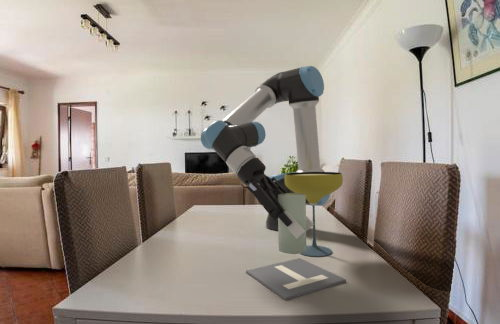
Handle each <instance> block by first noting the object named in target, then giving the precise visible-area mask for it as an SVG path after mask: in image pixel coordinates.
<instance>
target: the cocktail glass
mask: <svg viewBox="0 0 500 324" xmlns="http://www.w3.org/2000/svg"><path fill="white" fill-rule="evenodd" d="M295 172H296V171H295ZM343 180H344V179H343V173H341V172H334V171H324V172H296V173H292V172H287V174H285V185H286V186H287V187H288V188H289V189H290V190H291V191H293V192H295V193H302V194H306V199H307V201H308V202H309V203H310V204H311V205H313V206H312V223H313V224H314V225H313V226H312V242H311V243H312V244H311V245H306V249H307V250H306V252H304V253H300V255H303V256H305V257H312V258H313V257H314V258H321V257H327V256H330V255H331V254H332V253H333V251H332V249H331V248H329V247H326V246H321V245H318V244H317V239H316V218H315V217H316V214H315V213H316V210H315V205H316V204H317V203H318V202H319V201H320V199H321V198H323V197H325V196H326V195H328V194H330V193H331V194H332V193H335V192H336V191H337V190H339V189H340V188H341V186H342V185H343ZM331 194H330V195H331ZM311 205H310V206H311Z"/></svg>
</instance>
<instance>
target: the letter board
mask: <svg viewBox="0 0 500 324" xmlns="http://www.w3.org/2000/svg"><path fill="white" fill-rule="evenodd" d="M245 274H247V275H248V276H250V277H251V278H252V279H254V280H255V281H257V282H258V283H260V284H261V285H263V286H264V287H265V288H267V289H268V290H270V291H271V292H273V293H274V294H276V295H277V296H278V297H280V298H282V300H284V301H286V300H290V299H294V298H297V297H300V296H303V295H306V294H307V295H308V294H311V293H313V292H317V291H320V290H323V289H326V288H329V287H333V286H337V285H339V284H343V283H347V279H346V278H344V277H343V276H340V275H337V274H336V273H334V272H331V271H329V270H327V269H324V268H322V267H320V266H318V265H315V264H313V263H311V262H310V261H307V260H305V259H303V258H300V257H299V258H296V259H290V260H286V261H282V262H278V263H274V264H273V263H272V264H268V265H264V266H259V267H255V268H251V269H248V270H247V269H246V270H245Z"/></svg>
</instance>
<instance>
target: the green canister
mask: <svg viewBox="0 0 500 324" xmlns="http://www.w3.org/2000/svg"><path fill="white" fill-rule="evenodd" d="M278 202H279V203H280V205H281V206H282V208H283V209H284V212H285V211H286V210H287V211H288V212H289V213H290V215H291V216H292V217H293V218H294V219H295V220H296V221H297V222H298V223H299V225H300V226H301V227H302V228H303V229H304V230H305V232H304V233H303V234H302V235H301V236H299V237H298V238H297V239H296V238H295V236H294V235H293V234H292V233H291V232H290V231H289V230H288V228H287V227H286V226H285V225H284V224H283V223H282V222H281V221H280V219H279V218H278V230H277V234H278V251H279V252H281V253H283V254H287V255H299V254H300V253H304V252H306V250H307V249H306V246H307V231H306V216H307V205H306V194H302V193H282V194H278ZM300 255H301V254H300Z"/></svg>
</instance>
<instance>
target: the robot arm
mask: <svg viewBox="0 0 500 324" xmlns="http://www.w3.org/2000/svg"><path fill="white" fill-rule="evenodd" d="M324 90H325V82H324V79H323V76H322V74H321V72H320V71H319V69H317V67H315V66H313V65H308V66H300V67H297V68H293V69H289V70H284V71H281V72H277V73H276V74H273V75H272V76H270V77H269V78H267V79H266V80H265V81H264V82H262V83H260V85H258V86H257V87H256V89H255V91H254V93H253V94H252V95H250V96H249V97H248V98H247V99H246V100H244V101H243V102H242V103H241V104H239V105H238V106H237V107H236V108H235V109H234V110H232V111H231V112H229V114H228V115H226V116H225V117H224V118H223V119H222V120H216V121H213V122H212V123H211V124H210V125H208V126H207V127H206V128H204V129H203V130H202V131H201V134H200V141H201V145H202V146H203V147H204V148H205V149H207V150H213V151H214V152H215V153H216V154H217V155H218V157H220V159H222V160H223V162H224V163H225V164H226V165H227V167H228V168H229V169H230V170H231V171H232V173H233V174H235V175H236V176H237V178H238V179H239V180H240V181H241V182H242V184H244V185H245V186H247V187H246V188H247V190H248V191H250V193H251V194H252V195H253V196H254V197H255V198H256V200H257V201H258V202H259V203H260V205H261V206H262V207H263V209H264V210H265V211H266V212H267V217H266V221H265V228H266V229H269V230H272V231H278V218H279V219H280V221H281V222H282V223H283V224H284V225H285V226H286V227H287V228H288V230H289V231H290V232H291V233H292V234H293V235H294V236H295V238H296V239H297V238H298V237H299V236H301V235H302V234H303V233H304V232H305V230H304V229H303V228H302V227H301V226H300V225H299V223H298V222H297V221H296V220H295V219H294V218H293V217H292V216H291V215H290V213H289V212H288V211H287V210H286V211H285V212H284V209H283V208H282V206H281V205H280V203H279V202H278V194H282V193H295V192H293V191H291V190H290V189H289V188H288V187H287V186H286V185H285V174H287V173H288V172H287V173H285V172H284V173H277V174H272V175H270V176H268V175H266V174H265V171H266V169H267V167H266V165H265V164H264V163H263V161H261V159H260V158H259V157H257V156H256V154H254V152H253V151H252V150H251V148H253V147H257V146H259V145H260V144H263V142H265V139H266V130H265V127H264V125H263V124H261V122H258V121H255V120H256V119H257V118H258V117H259V116H260V115H261V114H262V113H263V112H264V111H266V109H268V108H272V107H274V105H277V104H278V103H279V104H280V103H284V102H288V106H289V107H291V108H292V110H293V111H292V112H293V122H294V132H295V133H294V135H295V144H296V156H297V157H296V158H297V168H298V169H297V170H296V171H294V172H291V173H296V172H325V169H323V167H321V160H320V149H319V148H320V146H319V136H318V134H319V132H318V123H317V109H316V107H317V105H318V103H319V102H320V97H321V96H322V95H323V94H324ZM331 194H332V193H330V194H328V195H326V196H325V197H323V198H321V199H320V201H319V202H318V203H317V204H316V205H315V206H316V207H317V206H318V207H322V206H324V205H326V204H327V202H328V201H329V199H330V197H331ZM306 206H312V207H313V205H311V204H310V203H309V202H308V201H307V199H306ZM313 225H314V224H313V220H312V221H311V219H310V218H309V217H308V216H307V215H306V232H308V231H309V230H310V229H311V228H313Z"/></svg>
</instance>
